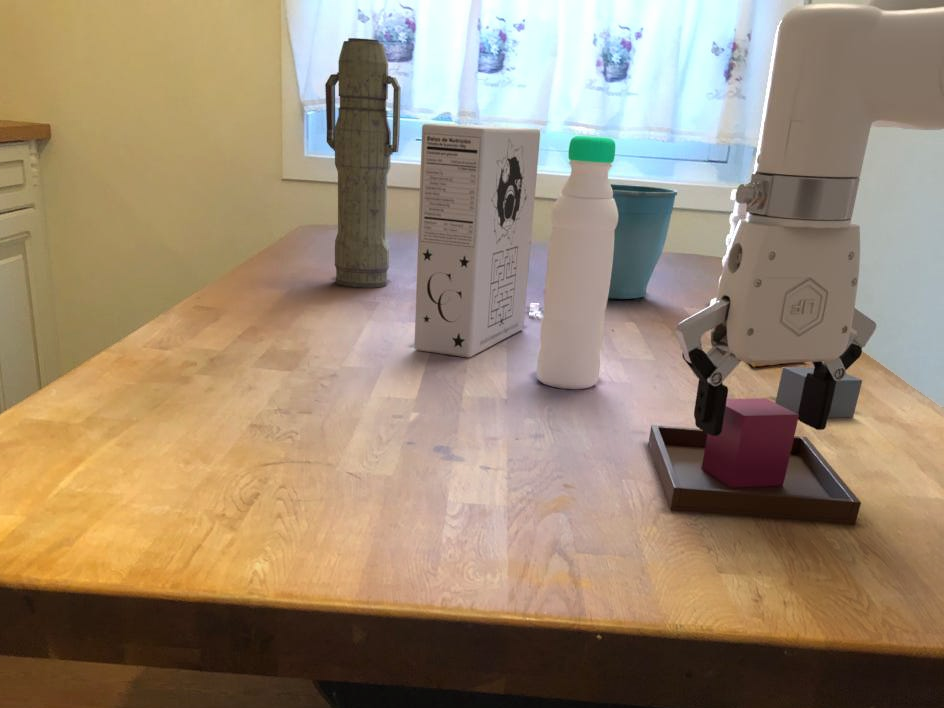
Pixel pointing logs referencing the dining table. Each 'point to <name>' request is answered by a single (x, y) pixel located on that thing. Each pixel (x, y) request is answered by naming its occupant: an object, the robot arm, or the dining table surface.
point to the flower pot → (638, 237)
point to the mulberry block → (751, 444)
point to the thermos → (362, 160)
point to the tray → (800, 497)
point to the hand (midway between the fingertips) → (759, 428)
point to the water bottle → (579, 268)
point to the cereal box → (473, 235)
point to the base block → (793, 388)
